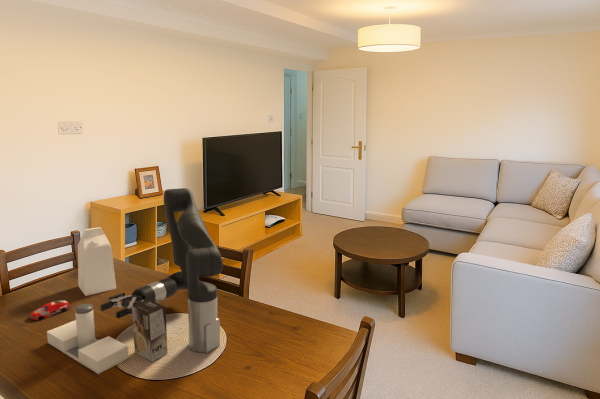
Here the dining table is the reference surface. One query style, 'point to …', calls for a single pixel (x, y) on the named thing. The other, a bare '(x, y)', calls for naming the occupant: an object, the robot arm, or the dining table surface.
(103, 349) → the white block holder
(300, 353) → the dining table surface
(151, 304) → the coffee box
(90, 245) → the milk
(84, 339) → the grey-capped white cylinder
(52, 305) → the race car
